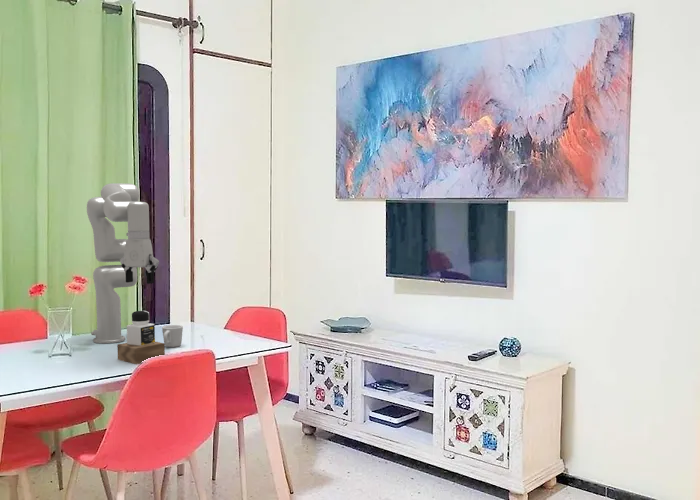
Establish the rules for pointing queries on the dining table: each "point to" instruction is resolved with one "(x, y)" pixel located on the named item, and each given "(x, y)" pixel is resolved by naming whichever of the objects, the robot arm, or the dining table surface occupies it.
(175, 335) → the cup
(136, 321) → the medicine bottle
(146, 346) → the walnut block
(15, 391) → the dining table surface
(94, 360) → the dining table surface
